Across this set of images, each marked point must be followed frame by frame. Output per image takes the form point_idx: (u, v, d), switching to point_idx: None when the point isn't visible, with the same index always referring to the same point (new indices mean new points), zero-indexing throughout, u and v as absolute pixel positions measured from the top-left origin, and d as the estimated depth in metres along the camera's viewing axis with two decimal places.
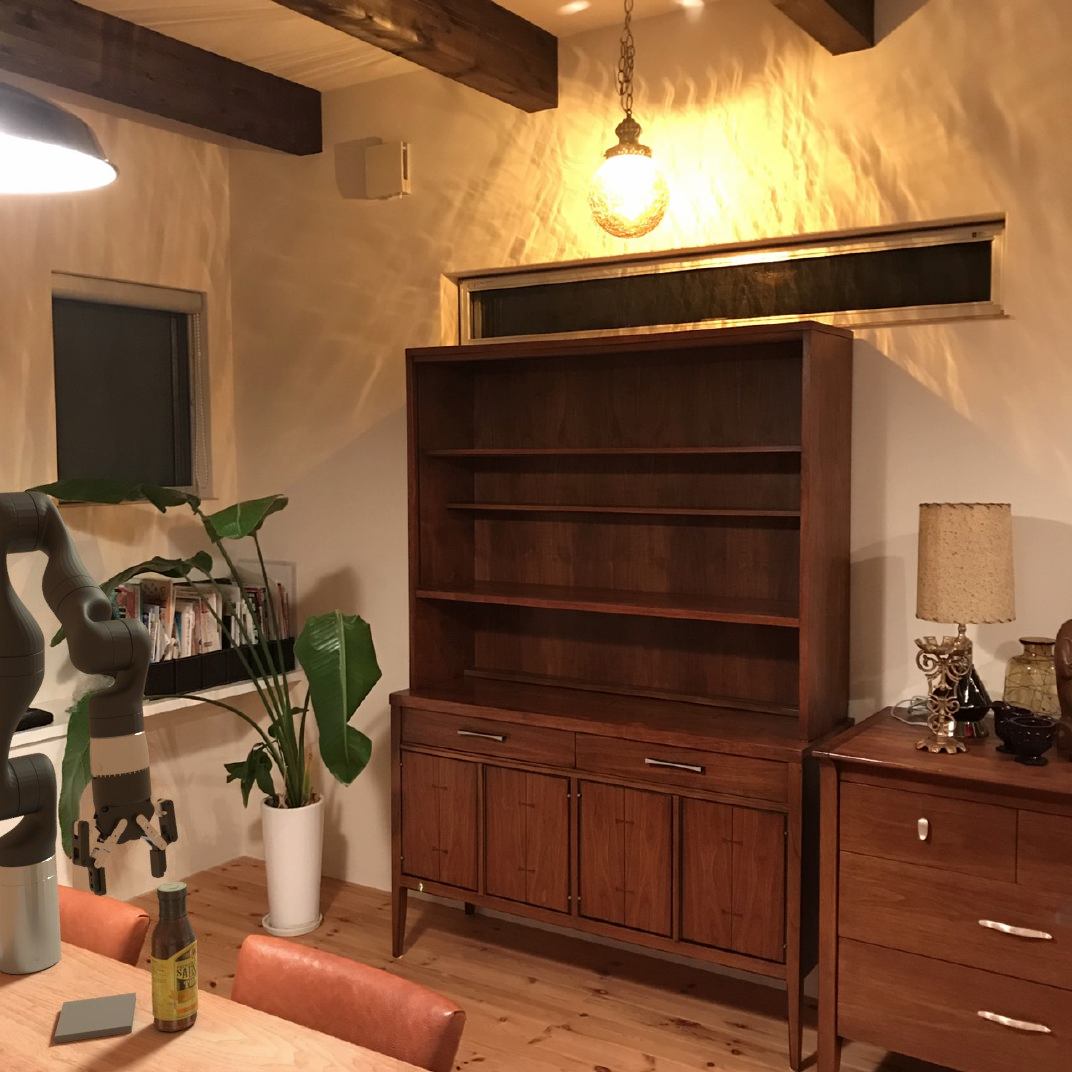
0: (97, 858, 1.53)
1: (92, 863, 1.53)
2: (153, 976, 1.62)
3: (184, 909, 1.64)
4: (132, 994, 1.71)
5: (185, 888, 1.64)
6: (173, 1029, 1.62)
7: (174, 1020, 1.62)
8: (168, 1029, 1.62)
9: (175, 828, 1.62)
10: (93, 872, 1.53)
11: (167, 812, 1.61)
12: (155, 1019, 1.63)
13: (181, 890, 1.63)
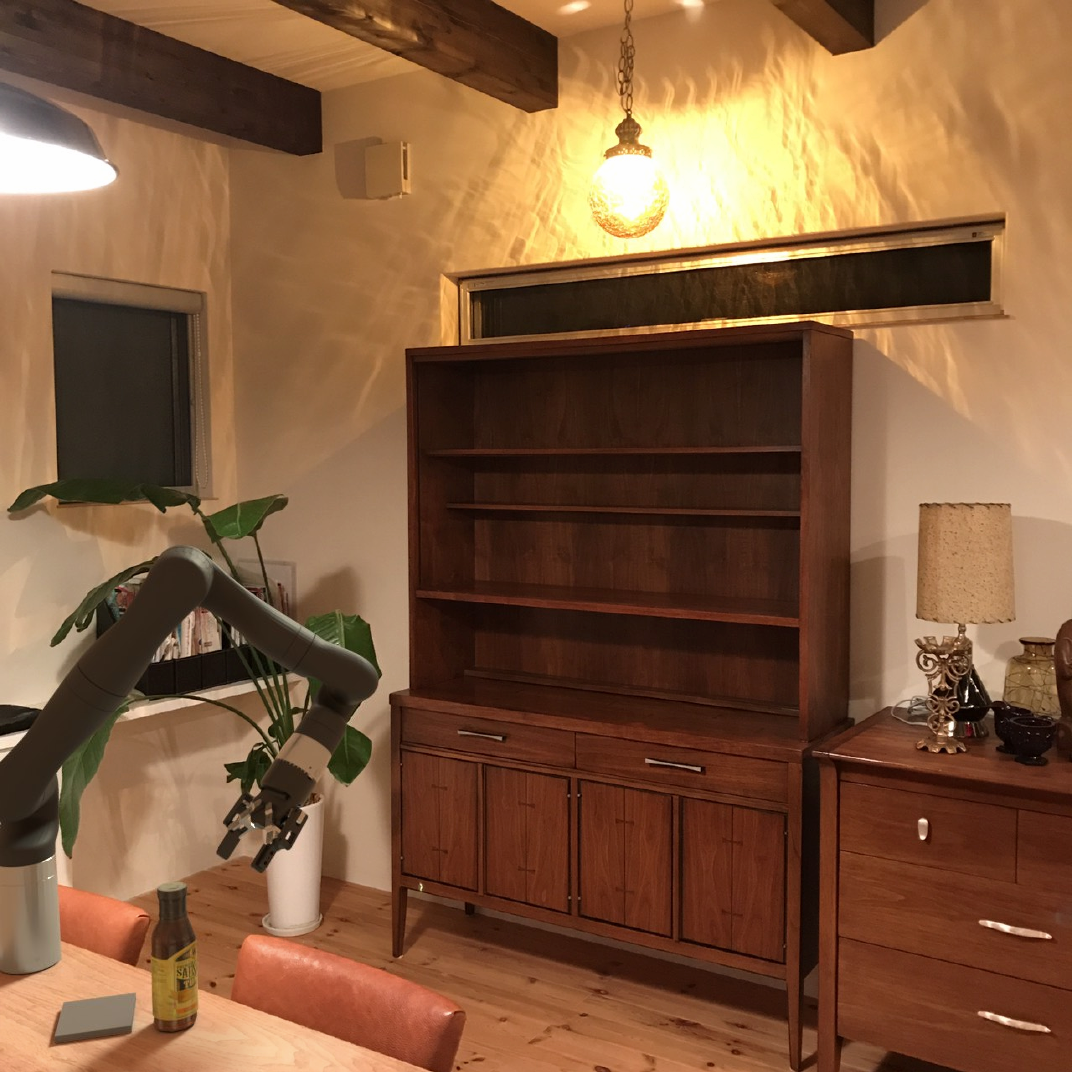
0: None
1: None
2: (153, 976, 1.62)
3: (184, 909, 1.64)
4: (132, 994, 1.71)
5: (185, 888, 1.64)
6: (173, 1029, 1.62)
7: (174, 1020, 1.62)
8: (168, 1029, 1.62)
9: None
10: (274, 853, 1.71)
11: None
12: (155, 1019, 1.63)
13: (181, 890, 1.63)
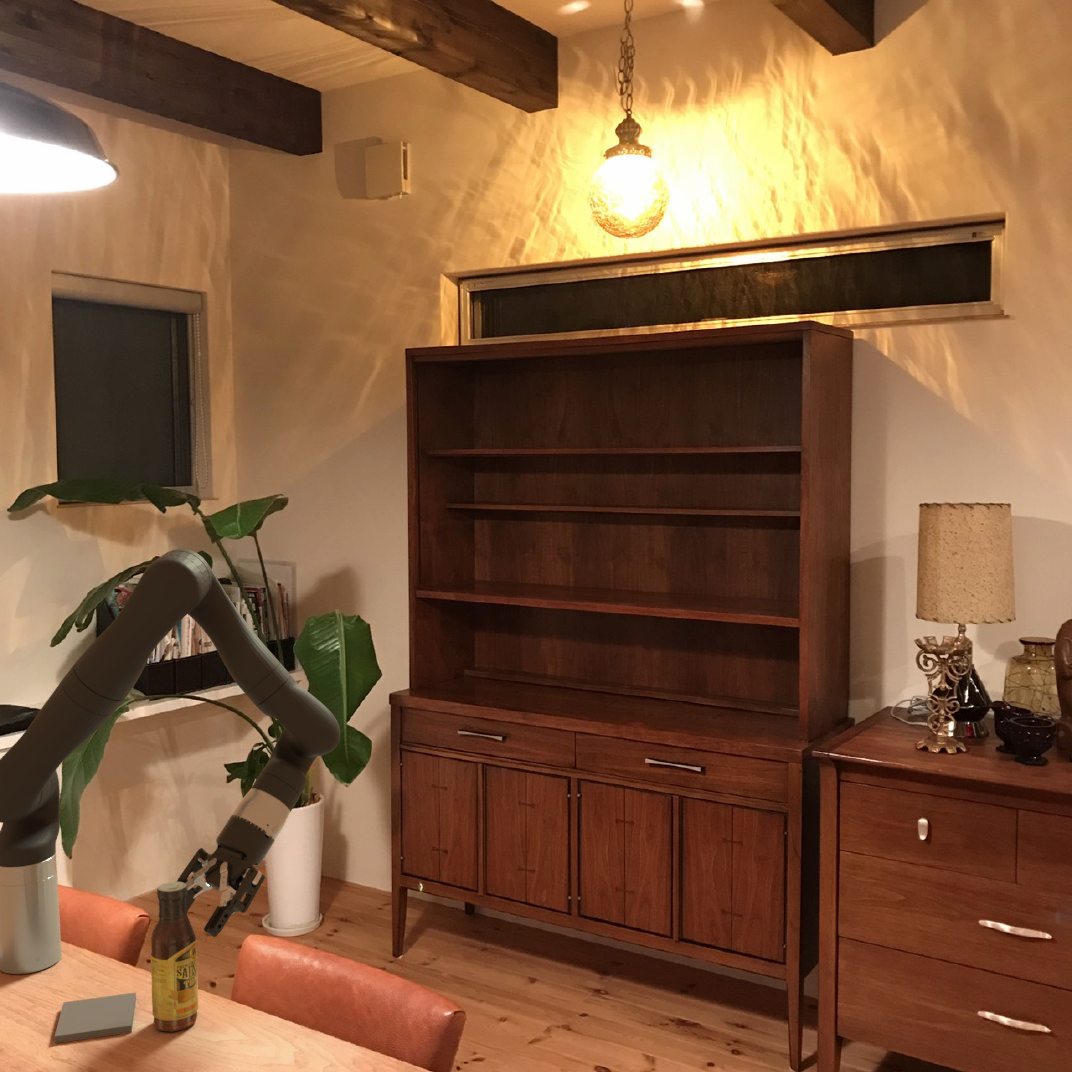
0: None
1: None
2: (153, 976, 1.62)
3: (184, 909, 1.64)
4: (132, 994, 1.71)
5: (185, 888, 1.64)
6: (173, 1029, 1.62)
7: (174, 1020, 1.62)
8: (168, 1029, 1.62)
9: None
10: (229, 916, 1.65)
11: None
12: (155, 1019, 1.63)
13: (181, 890, 1.63)
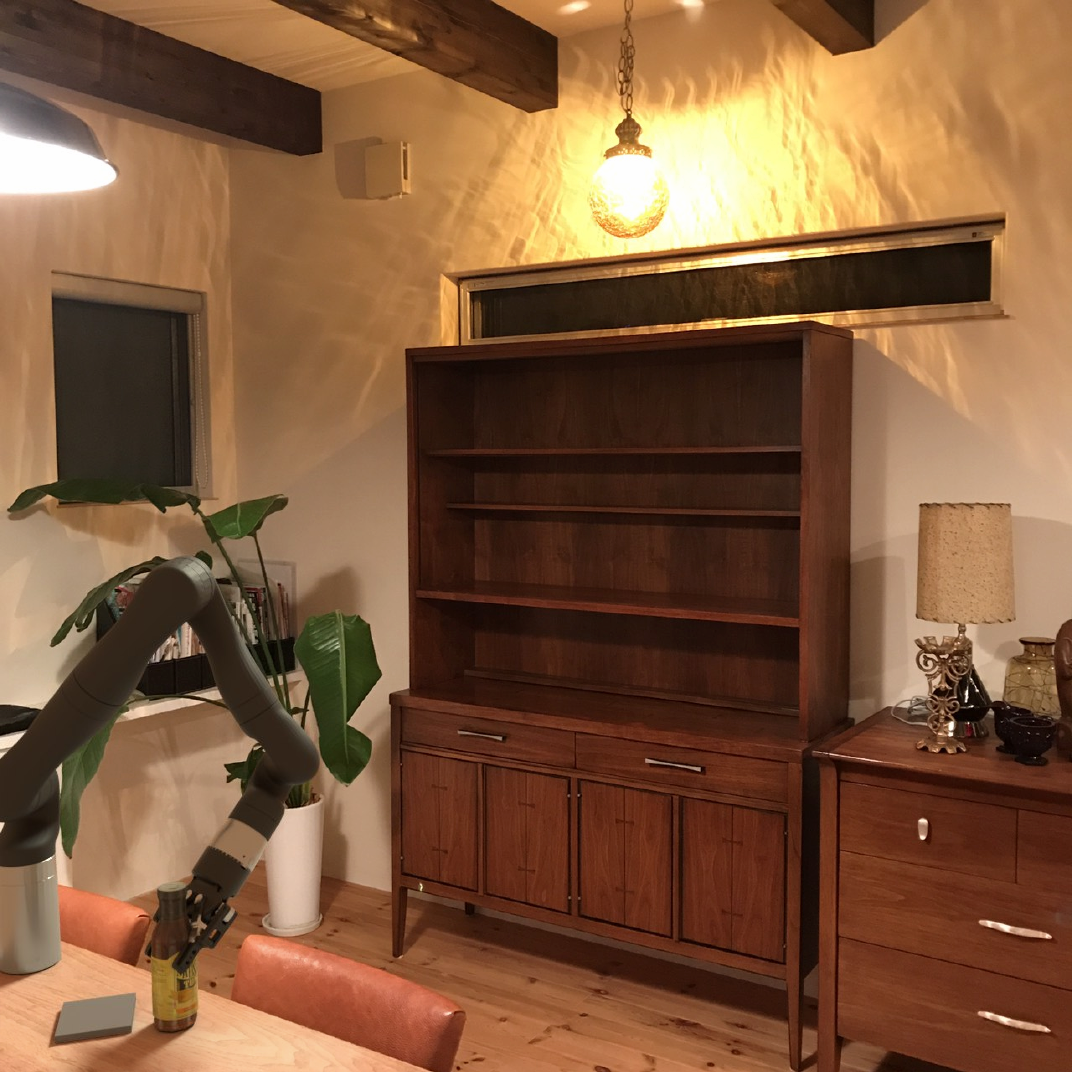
0: None
1: None
2: (153, 976, 1.62)
3: (184, 909, 1.64)
4: (132, 994, 1.71)
5: (185, 888, 1.64)
6: (173, 1029, 1.62)
7: (174, 1020, 1.62)
8: (168, 1029, 1.62)
9: None
10: (197, 952, 1.62)
11: None
12: (155, 1019, 1.63)
13: (181, 890, 1.63)
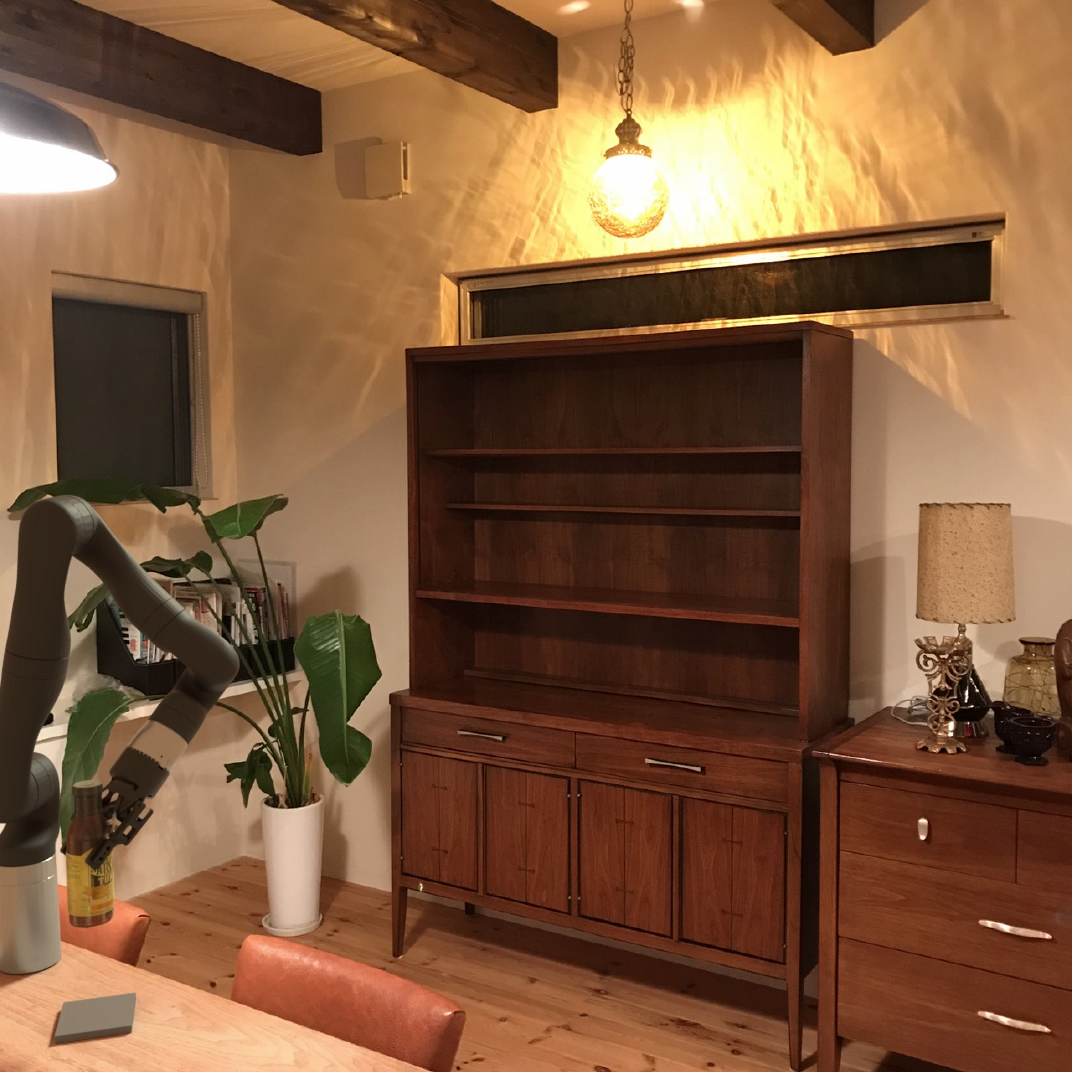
0: None
1: None
2: (67, 873, 1.62)
3: (99, 806, 1.63)
4: (132, 994, 1.71)
5: (100, 785, 1.63)
6: (87, 925, 1.62)
7: (88, 916, 1.62)
8: (82, 925, 1.62)
9: None
10: (112, 848, 1.62)
11: None
12: (70, 916, 1.63)
13: (96, 787, 1.62)
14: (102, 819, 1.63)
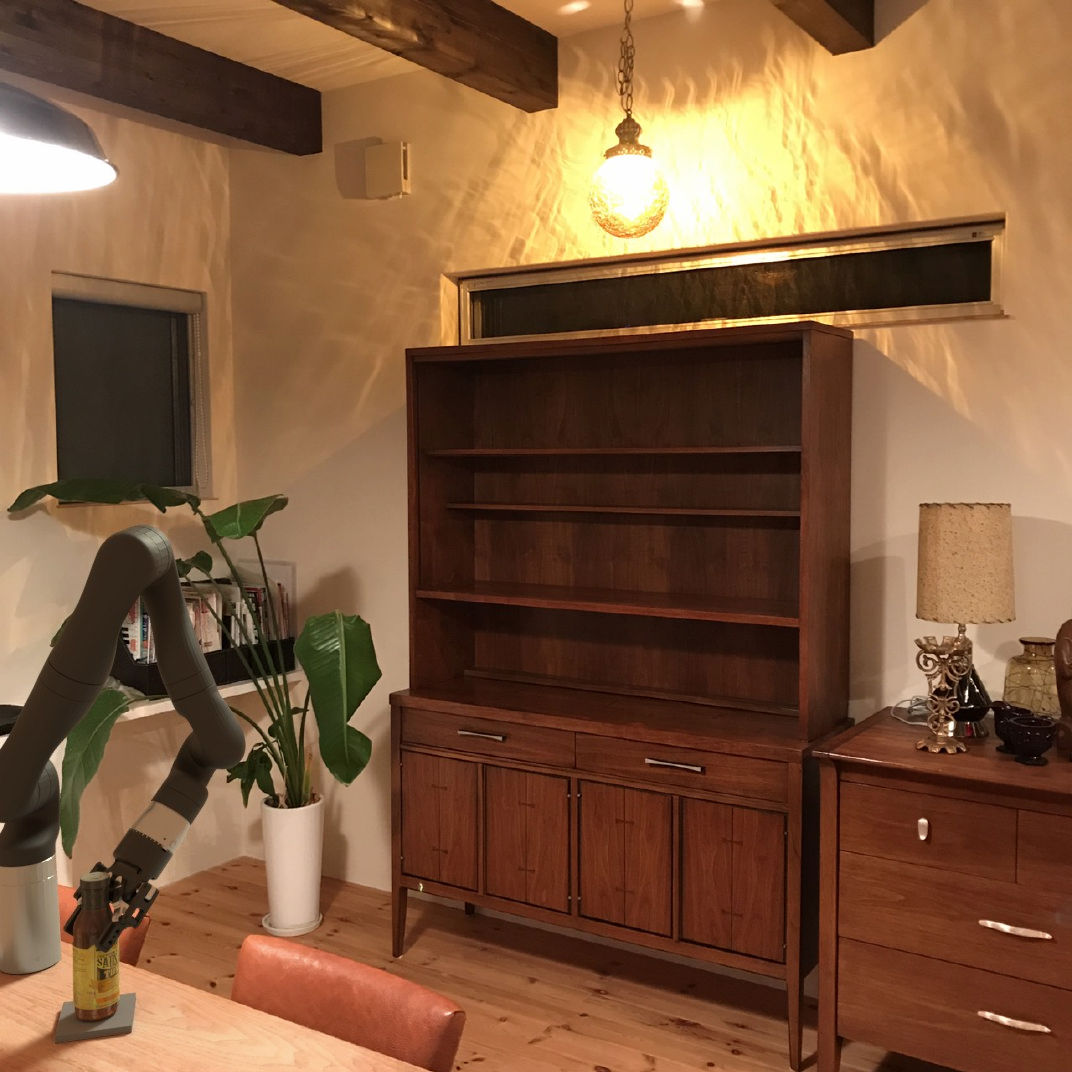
0: None
1: None
2: (74, 966, 1.64)
3: (107, 899, 1.65)
4: (132, 994, 1.71)
5: (108, 878, 1.65)
6: (93, 1018, 1.63)
7: (94, 1010, 1.63)
8: (88, 1018, 1.63)
9: None
10: (121, 931, 1.63)
11: None
12: (75, 1008, 1.64)
13: (104, 880, 1.64)
14: (109, 912, 1.65)
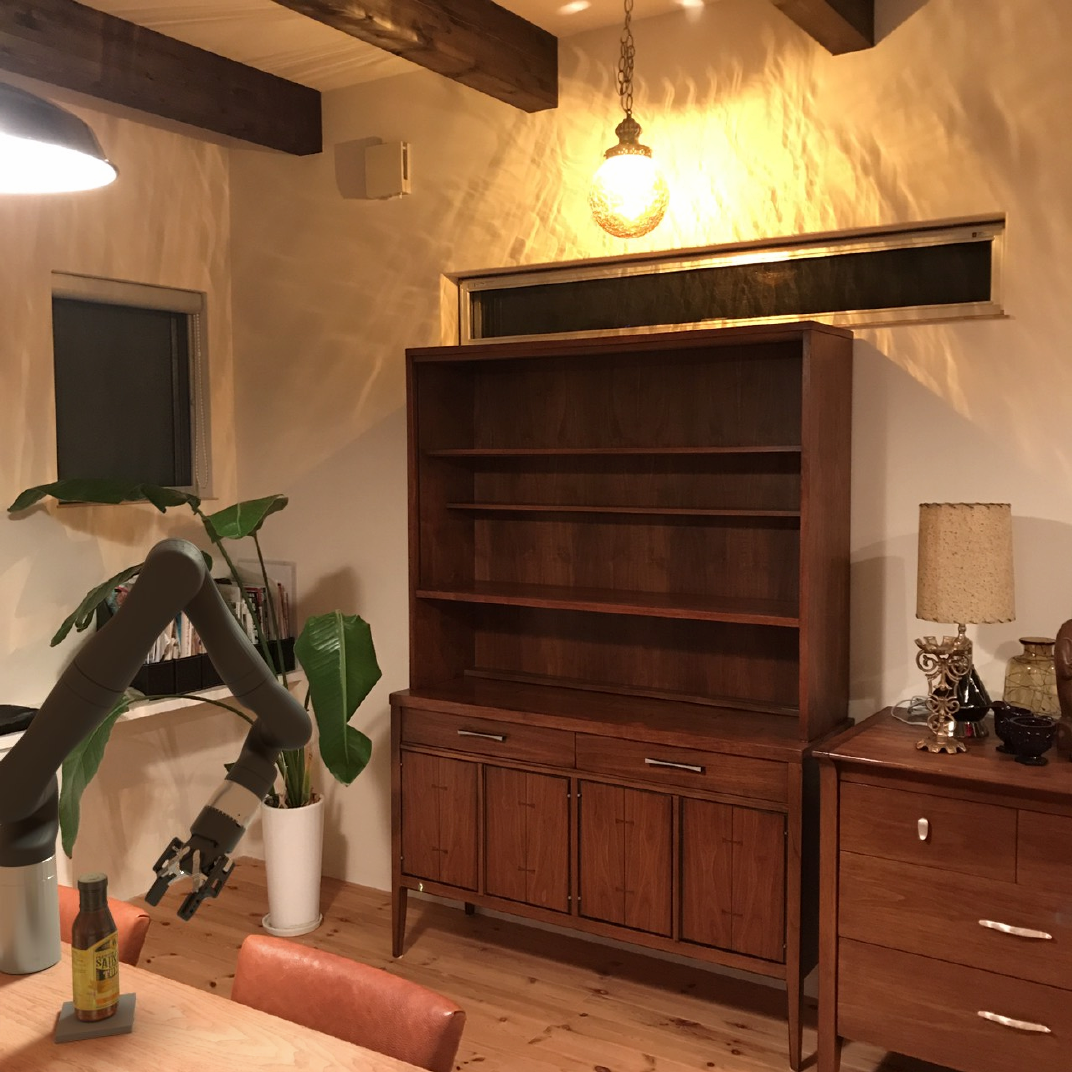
0: None
1: None
2: (73, 967, 1.64)
3: (105, 900, 1.65)
4: (132, 994, 1.71)
5: (105, 879, 1.65)
6: (93, 1019, 1.63)
7: (94, 1010, 1.63)
8: (88, 1019, 1.63)
9: None
10: (201, 901, 1.73)
11: None
12: (75, 1009, 1.64)
13: (101, 881, 1.64)
14: (107, 912, 1.65)
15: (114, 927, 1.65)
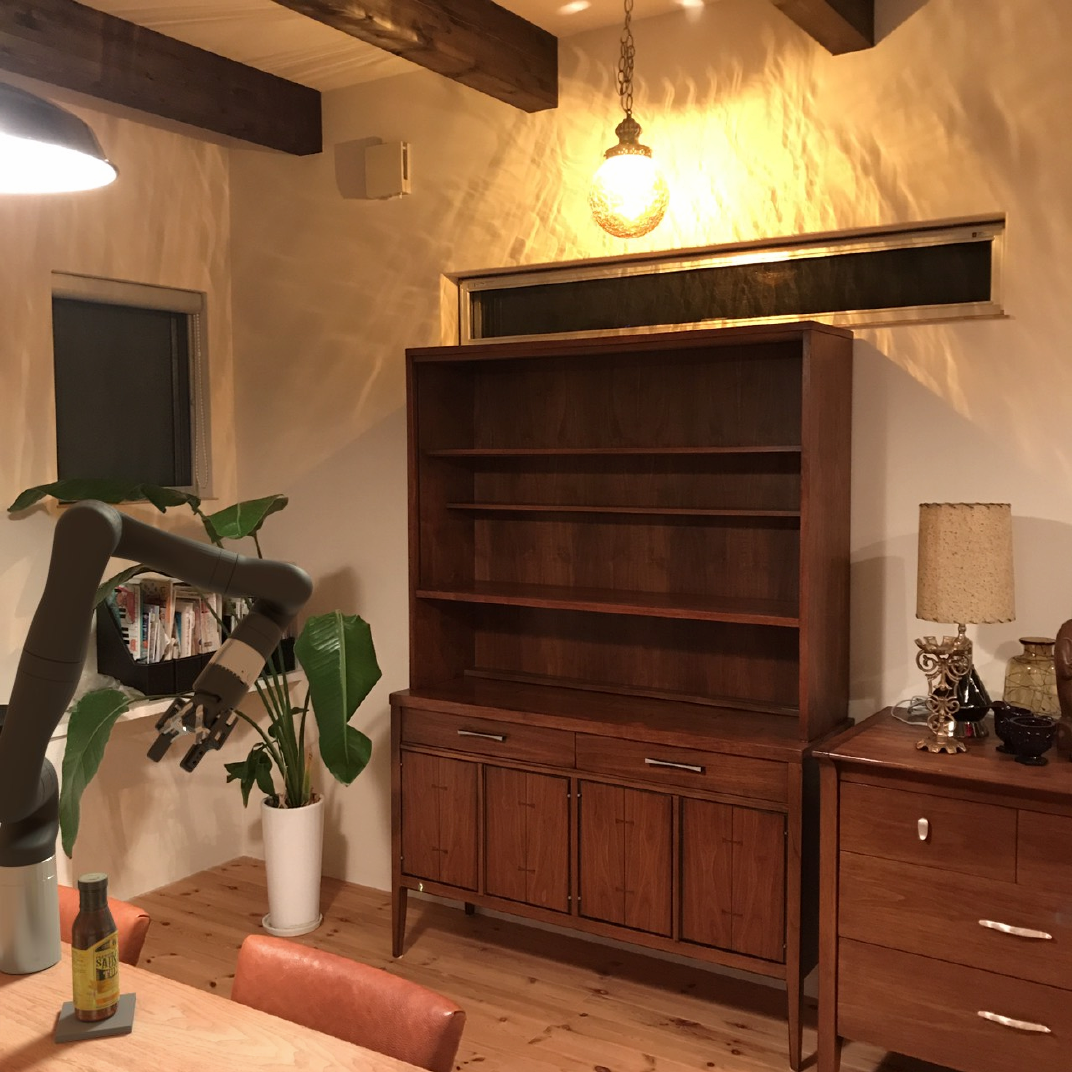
0: None
1: None
2: (73, 967, 1.64)
3: (105, 900, 1.65)
4: (132, 994, 1.71)
5: (105, 879, 1.65)
6: (93, 1019, 1.63)
7: (94, 1010, 1.63)
8: (88, 1019, 1.63)
9: None
10: (204, 753, 1.70)
11: None
12: (75, 1009, 1.64)
13: (101, 881, 1.64)
14: (107, 912, 1.65)
15: (114, 927, 1.65)
